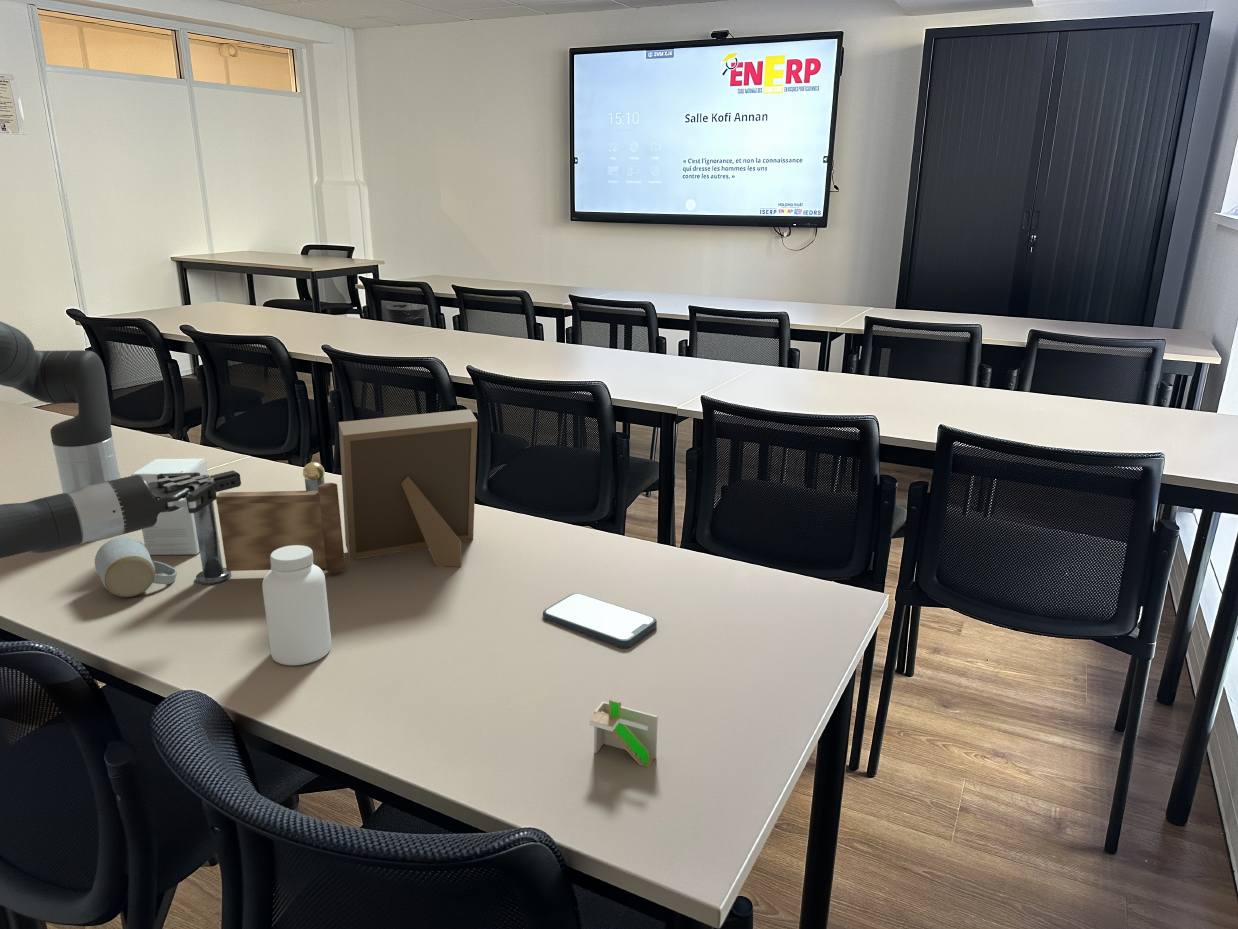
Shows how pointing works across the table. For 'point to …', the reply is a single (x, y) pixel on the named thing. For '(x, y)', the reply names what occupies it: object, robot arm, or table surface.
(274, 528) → the gate
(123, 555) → the ceramic mug
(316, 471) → the post
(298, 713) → the table surface
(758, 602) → the table surface
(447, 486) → the photo frame
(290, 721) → the table surface
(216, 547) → the hinge post
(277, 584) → the pill bottle
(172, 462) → the supplement box
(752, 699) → the table surface
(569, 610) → the smartphone
